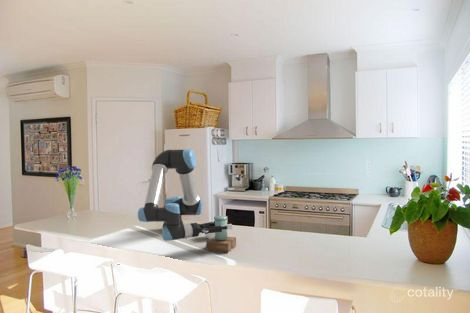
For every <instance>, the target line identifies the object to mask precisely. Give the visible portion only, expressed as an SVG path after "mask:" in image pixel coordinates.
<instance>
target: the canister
mask: <svg viewBox="0 0 470 313" xmlns="http://www.w3.org/2000/svg"><path fill="white" fill-rule="evenodd" d="M213 220H214V221H215V226H221V225H228V216H227V215H216V216H213ZM227 237H228V230H222V232H215V239H216V240H225V239H227Z"/></svg>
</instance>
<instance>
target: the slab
mask: <svg viewBox="0 0 470 313" xmlns="http://www.w3.org/2000/svg"><path fill="white" fill-rule="evenodd" d="M235 247H237V236H236V237H233V236H227V239H225V240H216V239H215V236H214V237H213V238H212V239H208V240H207V241H206V249H205V250H206V252H212V251H216V252H215V253H222V252H229V251H230V250H231V249H232V250H234V249H235ZM232 250H231V251H232ZM231 251H230V252H231ZM230 252H229V253H230Z"/></svg>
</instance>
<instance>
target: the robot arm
mask: <svg viewBox="0 0 470 313" xmlns="http://www.w3.org/2000/svg"><path fill="white" fill-rule="evenodd" d="M196 159H197V158H196V154H195V151H193V150H192V149H187V148H185V149H166V150H164V151H162V152H160V153H159V154H158V155H157V156H156V157H155V158H154V160H153V162H152V165H151V171H152V173H151V177H150V181H149V185H148V189H147V193H146V198H145V201H144V207H139V209H138V211H137V219H138V220H139V222H144V223H149V222H150V223H151V222H154V223H155V222H159V223H160V222H161V223H162V222H163V223H162V228H161V236H162V240H163V241H165V242H168V241H176V240H182V239H185V240H187V239H189V238H196V237H199V236H200V234H204V235H205V234H208V233H215V232H222V230H227V231H228V230H233V224H232V223H229V224H228V223H227V225H221V226H215V220H214V221H209V222H203V223H198V222H191V223H184V221H183V219H182V216H200V215H201V214H202V212H203V201H204V200H203V198H202V197H200V195H199V194H198V193H197V188H196V183H195V179H194V173H193V171H194V169H195V168H196V165H197V160H196ZM173 169H174V170H175V172H176V173H177V174H178V176H179V180H180V185H181V190H182V194H183V197H181V195H173V196H169V197H166V198H164V199H163V206H162V207H159V204H160V200H161V196H162V191H163V187H164V183H165V182H164V180H165V176H166V174H167V173H168V171H169V170H173Z"/></svg>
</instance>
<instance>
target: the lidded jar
mask: <svg viewBox="0 0 470 313" xmlns="http://www.w3.org/2000/svg"><path fill="white" fill-rule="evenodd" d="M204 235H205V237H206V238H207V240H210V239H212V238H213V237H214V236H215V233H208V234H205V233H204Z"/></svg>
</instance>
